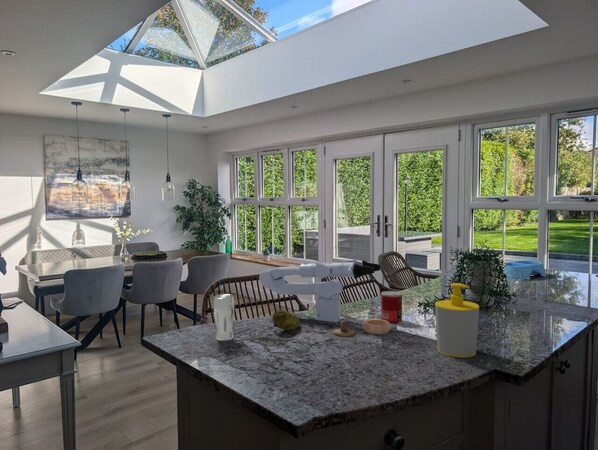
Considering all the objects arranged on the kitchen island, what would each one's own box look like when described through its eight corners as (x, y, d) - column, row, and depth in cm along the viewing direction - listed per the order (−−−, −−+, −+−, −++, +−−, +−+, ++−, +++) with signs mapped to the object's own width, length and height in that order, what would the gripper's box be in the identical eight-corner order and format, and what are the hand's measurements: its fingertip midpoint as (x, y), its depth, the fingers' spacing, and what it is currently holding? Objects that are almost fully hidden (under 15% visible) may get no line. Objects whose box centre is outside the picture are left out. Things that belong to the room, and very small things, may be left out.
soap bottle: (474, 361, 126) (475, 289, 125) (429, 353, 133) (430, 285, 132) (482, 348, 137) (482, 282, 136) (440, 341, 144) (440, 278, 143)
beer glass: (238, 336, 153) (237, 294, 152) (228, 342, 147) (227, 298, 146) (220, 334, 155) (219, 293, 155) (210, 340, 149) (209, 297, 148)
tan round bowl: (360, 332, 155) (360, 324, 155) (368, 326, 163) (368, 317, 163) (385, 336, 151) (384, 327, 151) (392, 329, 159) (392, 320, 159)
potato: (307, 329, 160) (307, 308, 160) (279, 336, 153) (279, 314, 152) (294, 324, 167) (294, 304, 167) (266, 330, 159) (266, 309, 159)
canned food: (402, 323, 166) (402, 295, 165) (381, 322, 168) (381, 294, 167) (401, 318, 174) (401, 291, 173) (381, 317, 175) (381, 290, 175)
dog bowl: (519, 281, 248) (519, 267, 248) (490, 277, 264) (490, 263, 264) (552, 276, 265) (552, 262, 265) (523, 272, 281) (523, 259, 281)
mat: (321, 337, 151) (321, 335, 151) (335, 328, 161) (335, 326, 161) (353, 341, 145) (353, 340, 145) (365, 332, 156) (365, 331, 156)
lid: (329, 335, 152) (329, 322, 152) (338, 329, 158) (338, 317, 158) (350, 337, 148) (350, 325, 148) (357, 331, 155) (357, 319, 155)
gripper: (335, 262, 163) (369, 260, 157) (349, 257, 176) (381, 256, 169) (337, 280, 163) (371, 280, 157) (351, 274, 176) (383, 273, 169)
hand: (377, 268), depth 163 cm, fingers open, 7 cm apart
